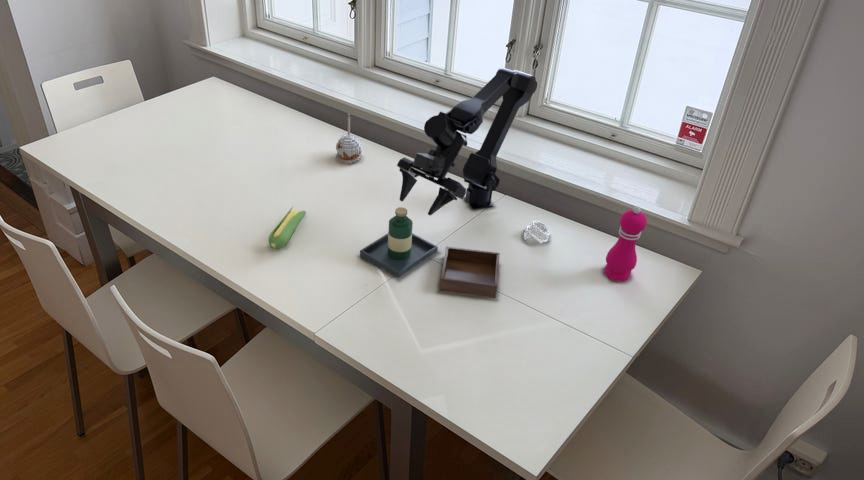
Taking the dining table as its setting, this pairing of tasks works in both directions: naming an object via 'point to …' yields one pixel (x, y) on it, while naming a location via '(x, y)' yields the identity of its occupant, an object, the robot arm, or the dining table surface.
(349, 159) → the decorative ornament
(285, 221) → the edible corn
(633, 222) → the pepper mill
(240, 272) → the dining table surface
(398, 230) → the bottle
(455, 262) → the crate
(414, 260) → the tray
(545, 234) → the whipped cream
